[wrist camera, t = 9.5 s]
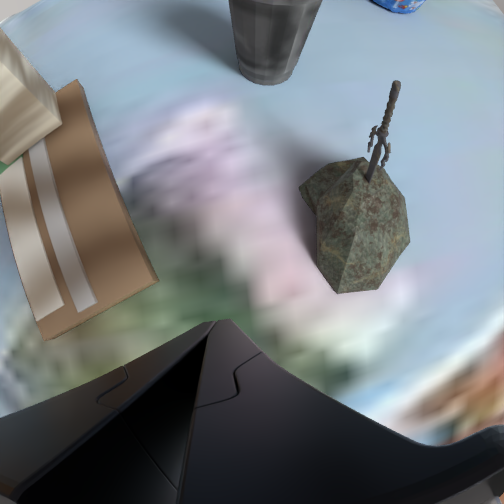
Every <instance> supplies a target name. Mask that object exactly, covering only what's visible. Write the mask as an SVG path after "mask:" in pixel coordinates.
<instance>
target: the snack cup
mask: <svg viewBox="0 0 504 504" xmlns="http://www.w3.org/2000/svg"><path fill="white" fill-rule="evenodd" d="M373 1H374V2H376V3H377V4H379V5H381V6H383V7H385V8H387V9H389V10H391V11H392V12H396V13H397V12H400V13H405V14H406V13H411V12H415V11H416V10H417V9H418V8H419V7H420V6H421V5H422V4H423V3H424V1H426V0H373Z"/></svg>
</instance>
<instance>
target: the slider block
mask: <svg viewBox="0 0 504 504" xmlns="http://www.w3.org/2000/svg"><path fill="white" fill-rule="evenodd" d="M60 125H62V120H61V116H60V112H59V108H58V103H57V98H56V94H55V91H54V90H53V89H52V88H51V87H50V86H49V85H48V83H47V82H46V81H45V80H44V79H43V78H42V77H41V75H40V74H39V73H38V72H37V71H36V70H35V68H34V67H33V66H32V65H31V64H30V63H29V61H28V60H27V59H26V58H25V57H24V56H23V54H22V53H21V52H20V51H19V50H18V48H17V47H16V46H15V45H14V44H13V42H12V41H11V40H10V39H9V38H8V36H7V35H6V34H5V33H4V32H3V30H2V29H1V28H0V161H1V162H3V163H5V164H6V165H9V164H10V163H11V162H13V161H14V160H15V159H16V158H18V157H19V156H20V155H21V154H22V153H24V152H25V151H26V150H28V149H29V148H30V147H31V146H33V145H34V144H35V143H37V142H38V141H39V140H41V139H42V138H43V137H45V136H46V135H47V134H49V133H50V132H52V131H53V130H54V129H56V128H57V127H59V126H60Z"/></svg>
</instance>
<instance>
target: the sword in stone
mask: <svg viewBox="0 0 504 504" xmlns="http://www.w3.org/2000/svg"><path fill="white" fill-rule="evenodd" d="M400 88H401V82H400V81H396V80H395V81H393V83H392V88H391V91H390V95H389V101H388V103H387V109H386V110H385V116H384V117H383V121H382V125H381V126H380V128H378V129H377V131H376V128H377V126H374V127H373V128H372V132H371V133H370V136H369V138H370V137H371V140H370V142H368V153H369V152H370V147H372V146H373V139H374V135H375V134H376V135H377V136H378V143H377V144H376V145H375V146H374V150H373V153H372V157H371V160H370V162H368V161H367V160H366V159H365V158H364V157H361V158H357V159H352V160H347V161H341V162H335V163H330V164H328V165H326V166H325V167H323V168H321V169H320V170H319V171H317V172H316V173H315V174H314V175H313V176H311V177H310V178H309V179H308V180H307V181H306V182H304V183H303V184H302V185H301V186H300V187H299V190H300V192H301V195H302V198H303V199H304V200H305V202H306V203H307V204H308V206H309V207H310V208H311V210H312V211H313V212H314V214H315V215H316V219H317V267H318V269H319V270H320V271H321V273H322V274H323V276H324V277H325V278H326V280H327V281H328V282H329V284H330V285H331V286H332V288H333V289H334V290H335V292H336V293H337V294H340V293H349V292H358V291H367V290H377V289H378V288H379V286H380V285H381V283H382V282H383V280H384V279H385V277H386V276H387V274H388V273H389V271H390V270H391V268H392V267H393V265H394V264H395V262H396V261H397V259H398V257H399V256H400V255H401V253H402V252H403V251H404V249H405V248H406V247H407V246H408V244H409V243H410V236H409V227H408V219H407V211H406V204H405V198H404V196H403V195H402V194H401V192H400V191H399V190H398V188H397V187H396V186H395V185H394V183H393V182H392V181H391V179H390V178H389V176H388V174H387V173H386V171H385V169H384V168H383V167H384V166H385V162H387V161H388V158H389V153H390V147H391V146H390V143H388V147H387V143H386V137H387V136H388V134H389V133H388V127H389V123H390V121H391V119H390V118H391V117H392V115H393V110H394V108H395V102H396V101H397V98H398V95H399V91H400ZM382 144H383V145H384V148H385V155H384V158H383V159H382V160H381V167H380V166H379V165H377V163H378V161H379V158H380V156H381V147H382ZM384 161H385V162H384Z"/></svg>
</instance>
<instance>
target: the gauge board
mask: <svg viewBox="0 0 504 504" xmlns="http://www.w3.org/2000/svg"><path fill="white" fill-rule="evenodd" d="M55 94H56V98H57V103H58V108H59V112H60V116H61V120H62V125H60V126H59V127H57V128H56V129H54V130H53V131H52V132H50V133H49V134H47V135H46V136H45V137H43V138H42V139H41V140H39V141H38V142H37V143H35V144H34V145H33V146H31V147H30V148H29V149H28V150H26V151H25V152H24V153H22V154H21V155H20V156H19V157H18V158H16V159H15V160H14V161H13V162H11V163H10V164H9V165H6V164H5V163H3V162H1V161H0V195H1V201H2V206H3V211H4V216H5V221H6V226H7V230H8V234H9V239H10V243H11V247H12V250H13V254H14V258H15V261H16V265H17V268H18V271H19V275H20V278H21V281H22V284H23V287H24V290H25V293H26V296H27V299H28V302H29V304H30V307H31V310H32V312H33V315H34V318H35V320H36V323H37V325H38V328H39V330H40V333H41V335H42V337H43V340H44V341H47V340H51V339H55V338H56V337H58V336H60V335H62V334H64V333H65V332H67V331H69V330H71V329H73V328H74V327H76V326H78V325H80V324H82V323H83V322H85V321H87V320H89V319H91V318H93V317H94V316H96V315H98V314H100V313H102V312H103V311H105V310H107V309H109V308H111V307H113V306H114V305H116V304H118V303H120V302H122V301H124V300H125V299H127V298H129V297H131V296H133V295H135V294H136V293H138V292H140V291H142V290H144V289H146V288H148V287H149V286H151V285H153V284H155V283H157V282H159V279H158V277H157V275H156V273H155V271H154V269H153V267H152V265H151V263H150V260H149V258H148V256H147V254H146V252H145V250H144V247H143V245H142V243H141V241H140V239H139V236H138V234H137V232H136V229H135V227H134V225H133V223H132V220H131V218H130V216H129V213H128V211H127V208H126V206H125V204H124V201H123V199H122V196H121V194H120V191H119V189H118V186H117V184H116V181H115V179H114V176H113V173H112V171H111V168H110V166H109V163H108V160H107V157H106V155H105V152H104V149H103V146H102V144H101V141H100V138H99V135H98V132H97V129H96V126H95V123H94V120H93V117H92V114H91V111H90V108H89V105H88V102H87V98H86V95H85V92H84V88H83V87H82V85H81V84H80V83H79V81H78V80H77V79H76V80H74V81H73V82H71V83H70V84H68V85H67V86H65V87H63V88H62V89H60V90H59V91H58V92H56V93H55Z"/></svg>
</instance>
